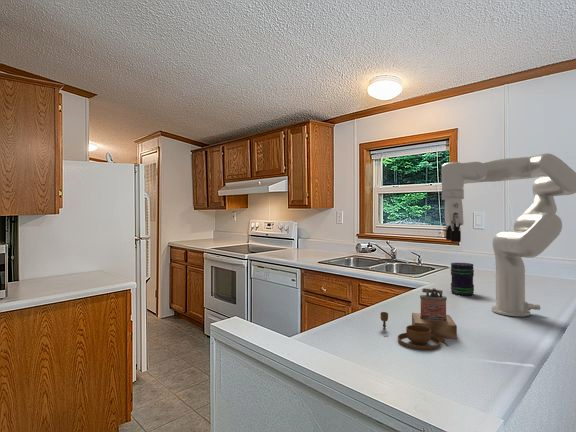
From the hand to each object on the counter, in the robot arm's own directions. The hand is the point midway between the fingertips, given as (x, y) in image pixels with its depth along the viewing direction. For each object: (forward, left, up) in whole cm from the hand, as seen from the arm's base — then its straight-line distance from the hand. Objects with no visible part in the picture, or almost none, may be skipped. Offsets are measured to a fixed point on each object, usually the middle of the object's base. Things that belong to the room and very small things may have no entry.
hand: (453, 240), depth 130 cm
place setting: (+17, +29, -29) cm, 44 cm away
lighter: (+10, +20, -24) cm, 33 cm away
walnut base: (+10, +20, -28) cm, 36 cm away
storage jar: (-11, -39, -28) cm, 50 cm away
